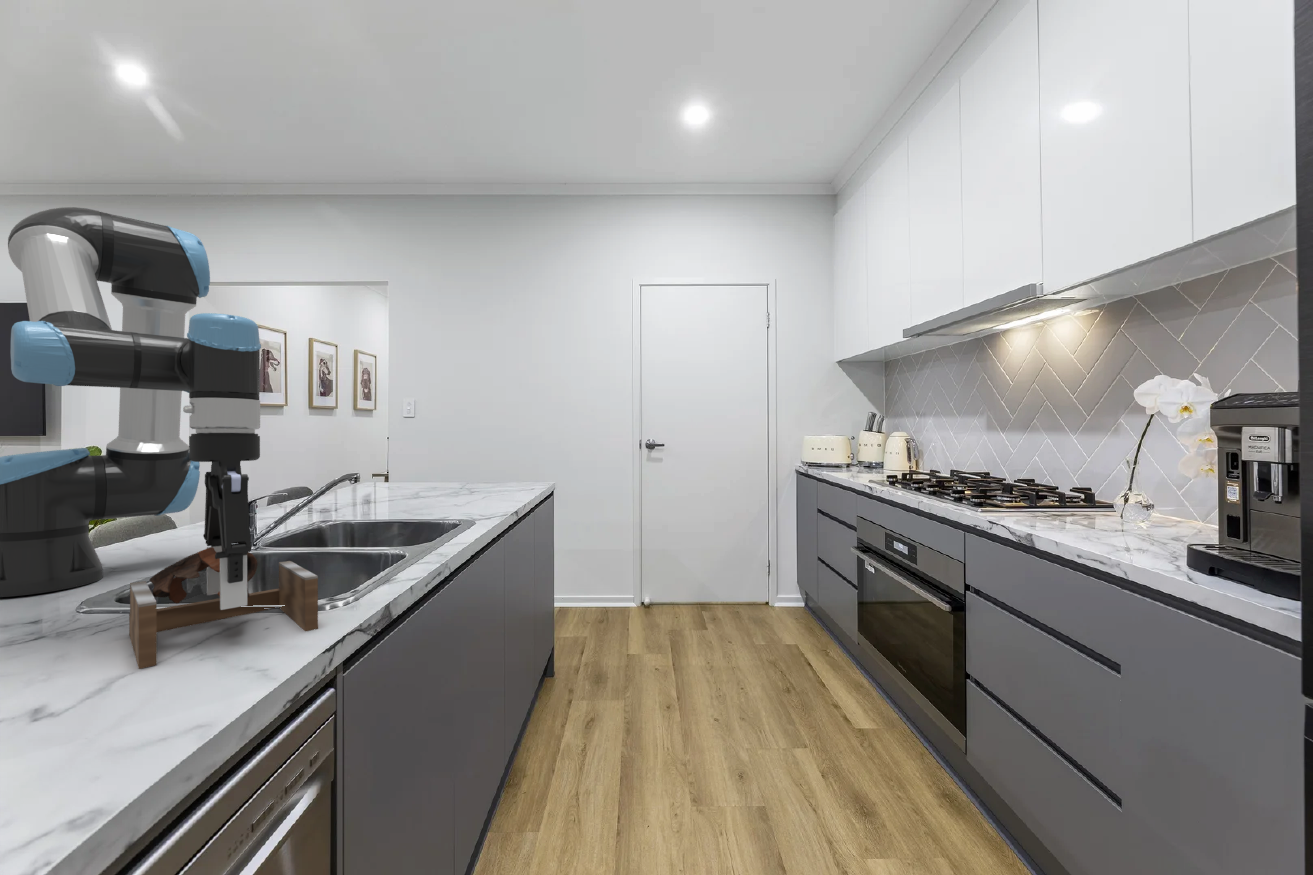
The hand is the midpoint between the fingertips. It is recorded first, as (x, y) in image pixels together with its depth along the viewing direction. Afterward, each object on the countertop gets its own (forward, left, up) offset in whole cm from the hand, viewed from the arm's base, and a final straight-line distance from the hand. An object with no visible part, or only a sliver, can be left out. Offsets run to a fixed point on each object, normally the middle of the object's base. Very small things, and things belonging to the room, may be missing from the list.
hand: (226, 599), depth 75 cm
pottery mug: (0, 0, -1) cm, 1 cm away
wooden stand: (0, 0, -5) cm, 5 cm away
